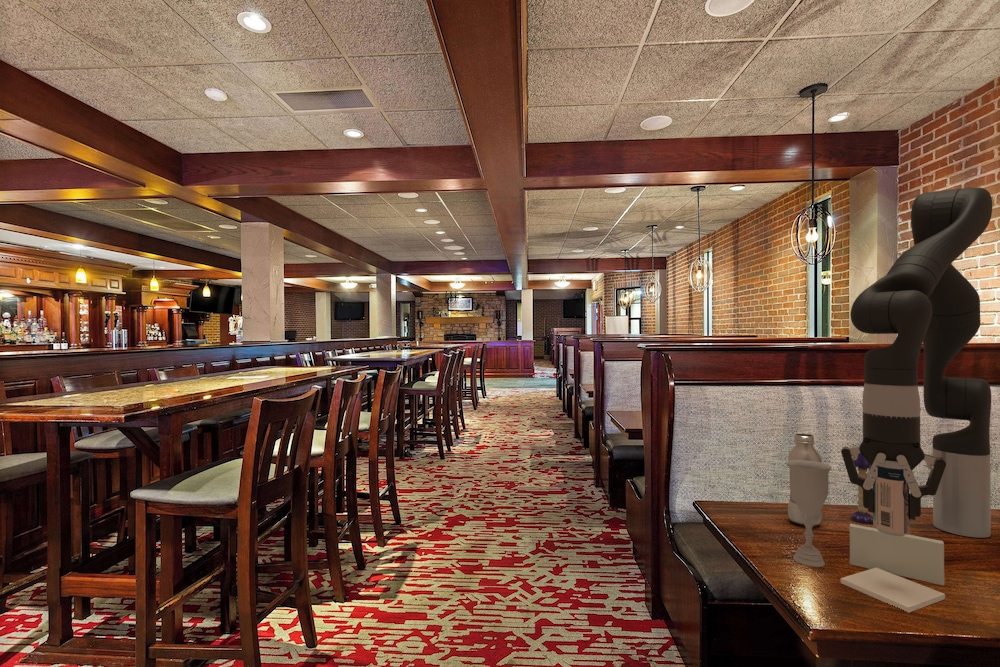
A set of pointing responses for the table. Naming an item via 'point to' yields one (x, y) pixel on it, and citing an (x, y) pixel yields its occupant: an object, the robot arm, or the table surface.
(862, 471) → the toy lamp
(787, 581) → the table surface
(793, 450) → the plastic bottle
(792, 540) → the table surface
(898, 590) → the tile
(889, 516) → the beer can
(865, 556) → the partition
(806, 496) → the chalice
